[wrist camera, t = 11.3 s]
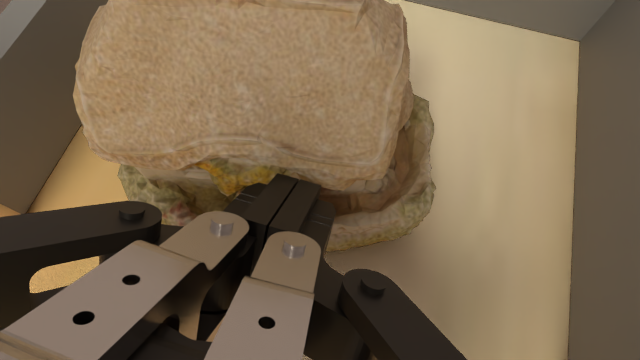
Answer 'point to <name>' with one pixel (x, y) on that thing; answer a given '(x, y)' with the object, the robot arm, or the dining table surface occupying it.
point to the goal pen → (488, 3)
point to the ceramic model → (259, 107)
